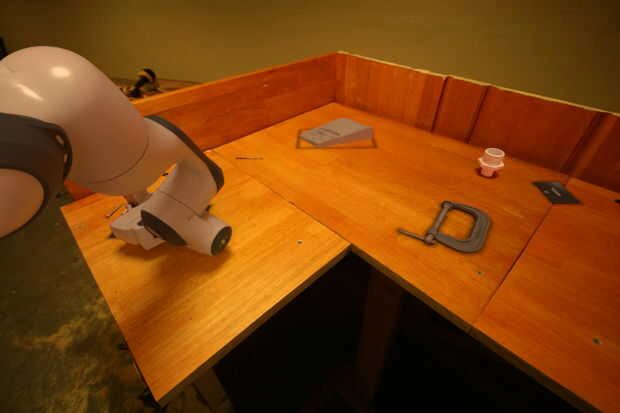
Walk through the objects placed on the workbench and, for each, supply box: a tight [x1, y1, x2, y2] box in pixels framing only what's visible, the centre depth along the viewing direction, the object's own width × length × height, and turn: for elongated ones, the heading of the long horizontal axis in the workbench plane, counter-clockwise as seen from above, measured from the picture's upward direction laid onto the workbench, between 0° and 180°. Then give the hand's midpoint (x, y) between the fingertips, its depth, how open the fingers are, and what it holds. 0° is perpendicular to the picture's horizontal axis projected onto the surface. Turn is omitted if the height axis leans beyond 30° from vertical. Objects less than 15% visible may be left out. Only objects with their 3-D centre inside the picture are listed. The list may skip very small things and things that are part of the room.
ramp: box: [298, 117, 374, 149], centre depth 114 cm, size 28×16×5 cm, turn 89°
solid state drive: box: [533, 181, 581, 205], centre depth 85 cm, size 7×10×1 cm
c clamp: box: [398, 199, 491, 254], centre depth 76 cm, size 20×17×3 cm
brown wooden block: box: [122, 189, 151, 207], centre depth 76 cm, size 8×5×10 cm, turn 152°
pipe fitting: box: [477, 147, 506, 177], centre depth 92 cm, size 6×7×8 cm
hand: (136, 200), depth 76 cm, fingers closed on brown wooden block, 3 cm apart
